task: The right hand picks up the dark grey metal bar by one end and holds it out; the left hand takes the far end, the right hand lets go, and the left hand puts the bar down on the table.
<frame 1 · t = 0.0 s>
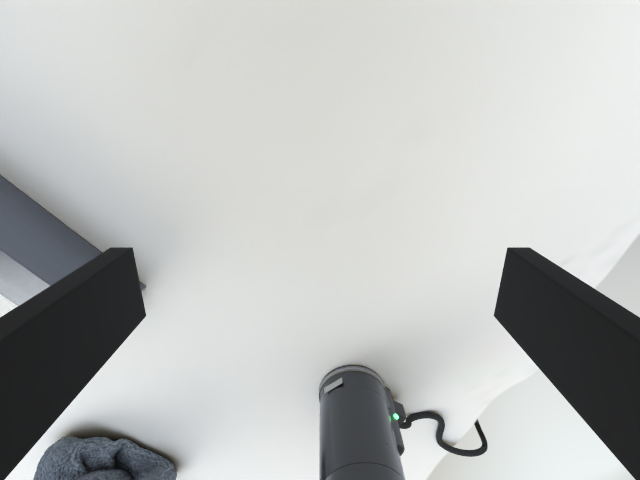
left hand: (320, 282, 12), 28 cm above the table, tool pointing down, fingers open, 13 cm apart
koala plush: (110, 463, 54), on the table
bar: (40, 225, 41), on the table
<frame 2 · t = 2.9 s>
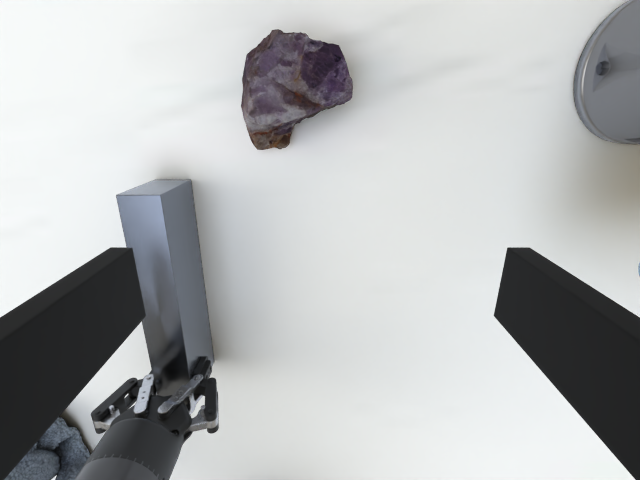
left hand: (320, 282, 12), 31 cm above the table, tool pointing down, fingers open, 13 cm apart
right hand: (187, 361, 47), fingers closed on bar, 4 cm apart
rock: (291, 92, 39), on the table
koala plush: (40, 433, 56), on the table
bar: (187, 279, 47), on the table, touching right hand
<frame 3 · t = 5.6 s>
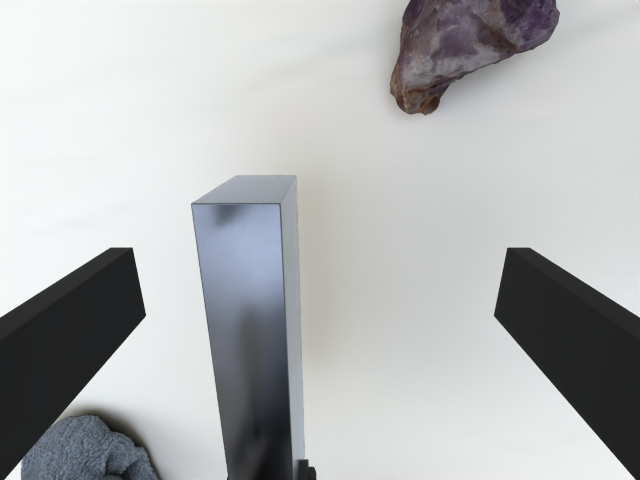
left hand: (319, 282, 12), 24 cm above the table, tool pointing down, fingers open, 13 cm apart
rock: (442, 42, 31), on the table
koala plush: (101, 452, 49), on the table
bar: (275, 334, 29), point 10 cm above the table, touching right hand
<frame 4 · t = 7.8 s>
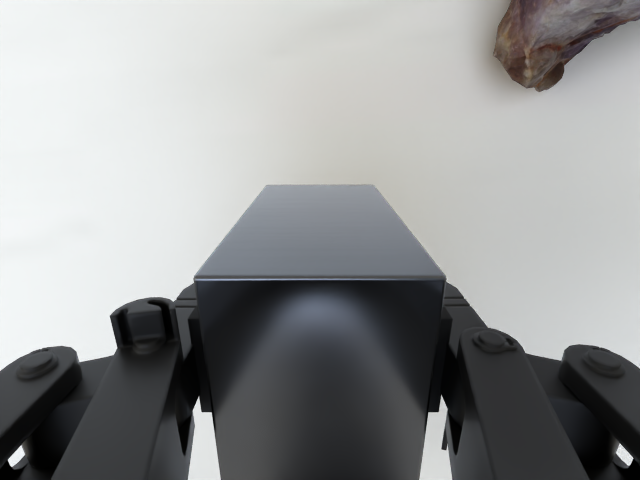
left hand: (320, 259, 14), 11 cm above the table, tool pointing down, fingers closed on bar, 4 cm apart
bar: (320, 434, 19), point 10 cm above the table, touching left hand, right hand
when the right hand's fingers open (14 cm above the table, at t = 8.5 s): bar stays where it is, held by the left hand.
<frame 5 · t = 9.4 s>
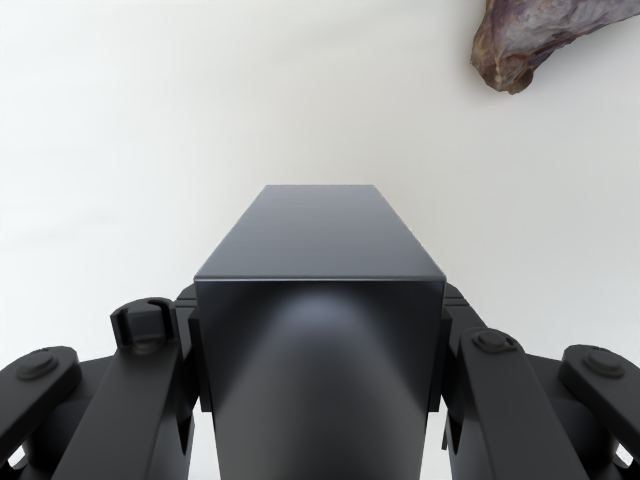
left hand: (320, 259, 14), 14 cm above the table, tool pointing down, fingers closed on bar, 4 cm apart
bar: (320, 435, 19), point 13 cm above the table, touching left hand
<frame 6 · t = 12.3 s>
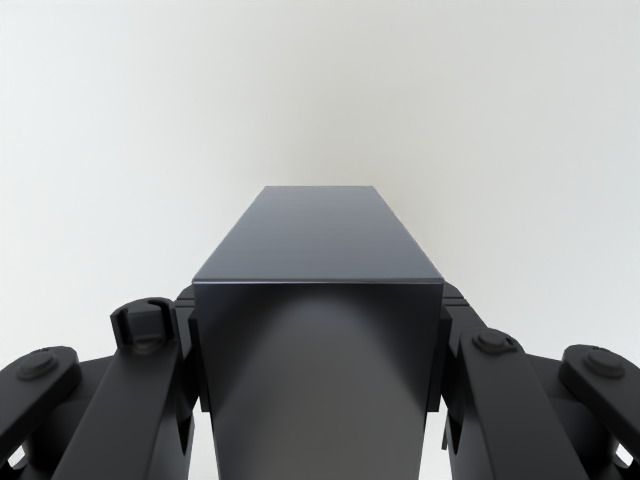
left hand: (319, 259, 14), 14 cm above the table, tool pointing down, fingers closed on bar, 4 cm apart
bar: (319, 435, 19), point 13 cm above the table, touching left hand
when the left hand's fingers open (2 cm above the table, at t = 17.2 s): bar drops 1 cm, on the table.
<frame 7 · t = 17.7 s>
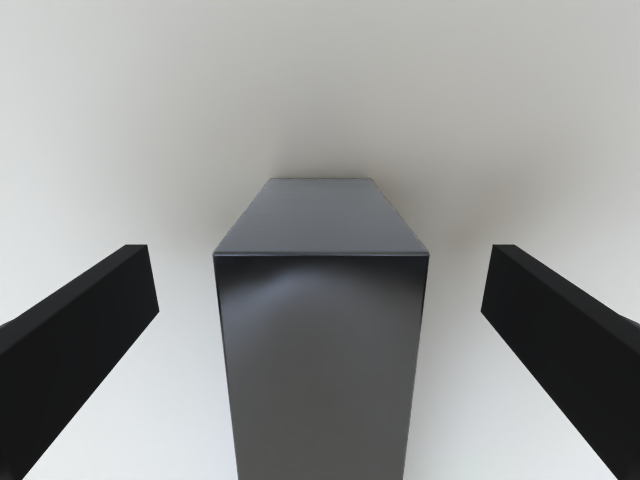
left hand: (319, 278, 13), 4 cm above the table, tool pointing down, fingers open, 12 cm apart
bar: (320, 416, 20), on the table
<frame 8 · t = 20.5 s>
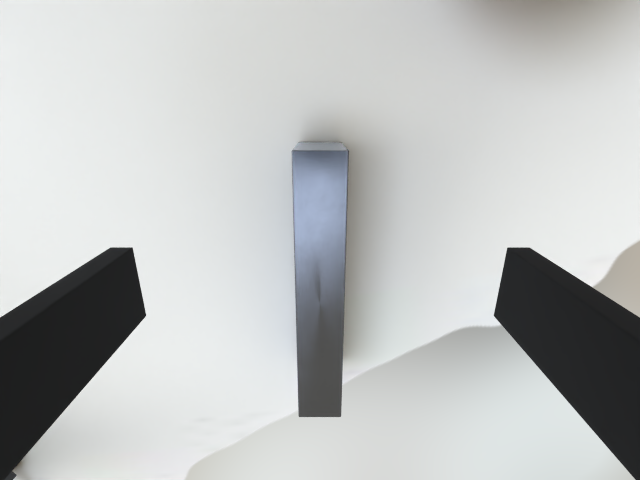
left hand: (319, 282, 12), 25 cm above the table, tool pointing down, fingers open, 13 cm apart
bar: (320, 264, 40), on the table
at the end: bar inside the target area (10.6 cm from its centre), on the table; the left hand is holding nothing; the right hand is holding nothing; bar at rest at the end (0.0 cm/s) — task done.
